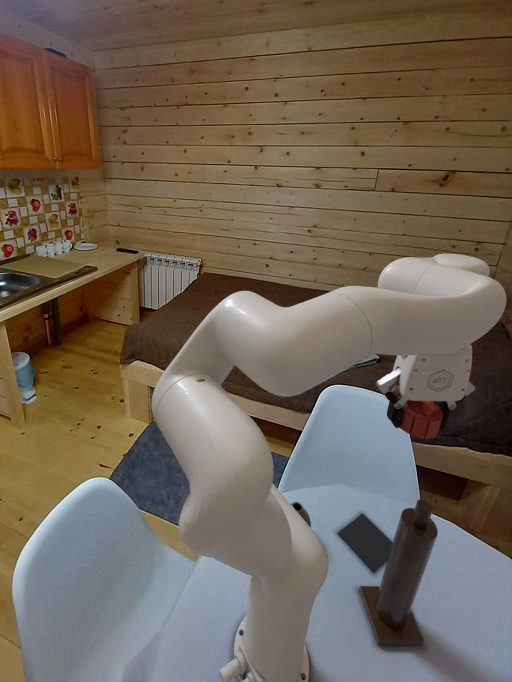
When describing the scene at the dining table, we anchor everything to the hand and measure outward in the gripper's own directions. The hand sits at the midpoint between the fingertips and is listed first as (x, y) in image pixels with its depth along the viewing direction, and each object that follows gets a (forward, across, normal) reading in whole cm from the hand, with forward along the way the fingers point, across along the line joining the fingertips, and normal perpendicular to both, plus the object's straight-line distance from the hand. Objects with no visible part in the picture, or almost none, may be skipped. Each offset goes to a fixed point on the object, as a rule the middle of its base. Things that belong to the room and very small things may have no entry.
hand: (415, 421), depth 60 cm
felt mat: (+38, 0, +5) cm, 38 cm away
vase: (+38, -16, +6) cm, 42 cm away
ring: (0, 0, 0) cm, 0 cm away
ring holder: (+38, -2, -9) cm, 39 cm away
